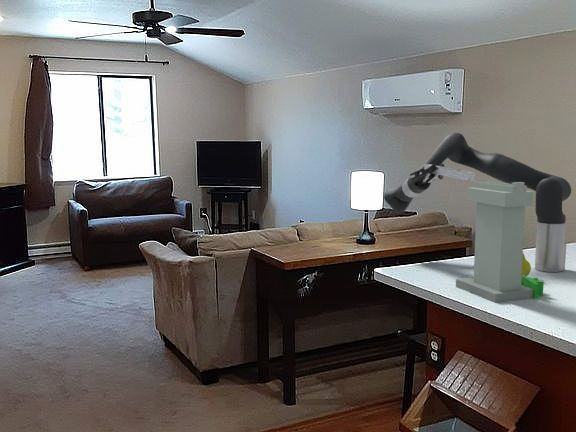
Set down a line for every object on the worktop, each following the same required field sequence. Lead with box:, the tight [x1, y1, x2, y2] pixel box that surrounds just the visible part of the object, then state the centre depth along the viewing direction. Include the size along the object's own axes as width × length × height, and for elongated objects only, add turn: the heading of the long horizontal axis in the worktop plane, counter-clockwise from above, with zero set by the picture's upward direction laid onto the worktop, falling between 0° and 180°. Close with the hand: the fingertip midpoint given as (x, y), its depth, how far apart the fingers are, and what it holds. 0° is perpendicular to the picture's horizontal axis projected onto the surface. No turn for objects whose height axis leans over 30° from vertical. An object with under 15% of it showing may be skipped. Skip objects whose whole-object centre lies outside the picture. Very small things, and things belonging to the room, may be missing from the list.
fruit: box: [522, 252, 532, 277], centre depth 198 cm, size 7×7×12 cm
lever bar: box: [424, 164, 476, 182], centre depth 200 cm, size 3×26×3 cm, turn 19°
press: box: [455, 180, 534, 303], centre depth 179 cm, size 14×19×35 cm
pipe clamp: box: [521, 275, 545, 299], centre depth 179 cm, size 11×4×5 cm, turn 179°
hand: (439, 166), depth 205 cm, fingers closed on lever bar, 2 cm apart
